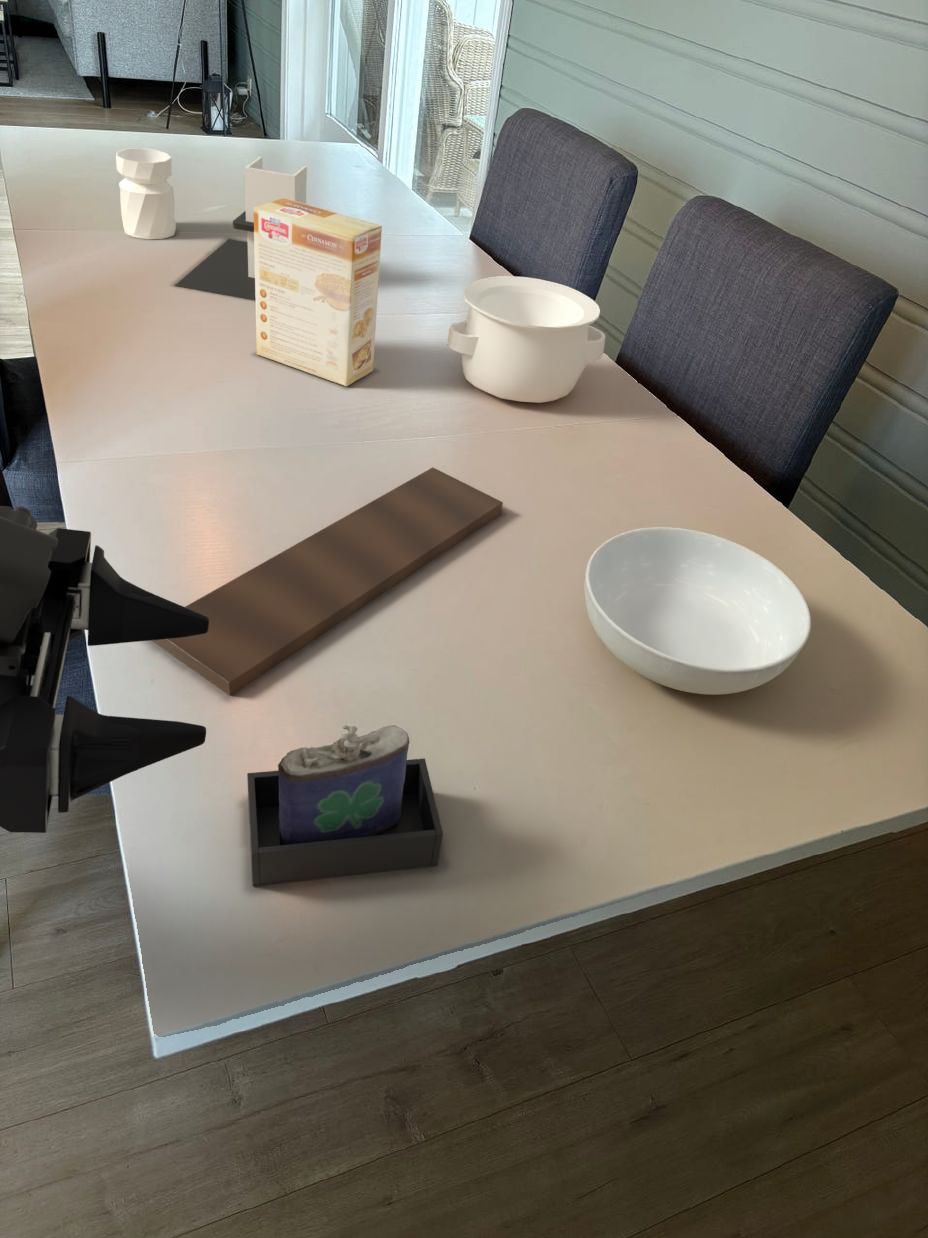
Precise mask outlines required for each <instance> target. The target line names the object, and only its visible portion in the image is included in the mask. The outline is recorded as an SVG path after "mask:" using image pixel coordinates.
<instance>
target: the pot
mask: <svg viewBox="0 0 928 1238" xmlns="http://www.w3.org/2000/svg"><path fill="white" fill-rule="evenodd" d="M463 298H464V300H465V302H466V303H467V304H468V305H469V309H468V312H467V316H466V320H462V321H460V322H454V323H451V324H450V326H449V329H448V335H447V341H446V346H447V347H449V349H450V350H452V351H454V352H457V353H459V354H461V365H462V372H463V375H464V377H465V379H466V381H467V382H469V384H471V385H472V386H474V387H475V388H476V389H479V390H481V391H482V392H485V393H486V394H489V395H492V396H495V397H497V398H499V399H502V400H508V401H509V400H510V401H515V402H520V403H522V402H523V403H535V404H536V403H537V404H541V403H548V402H553V401H556V400H559V399H561V398H564V397H567V396H568V395H569V393H571V391H572V390H573V389H574V388H575V386H576V384H577V383H578V380H579V378H580V377H581V375H582V373H583V371H584V370H585V369H586V366H587V364H591V363H592V364H593V363H597V362H598V361H600V360H601V359H602V357H603V355H604V351H605V345H606V337H607V336H606V334H605V333H604V332H603V331H602V330H600V329H598V328H596V327H594V326H591V324H594V323H595V322H596V321H597V320H598V319H599V317H600V313H601V309H600V306H599V304H598V303H596V301H595V300H594V299H592V298H591V297H589V296H588V295H586V294H585V293H583V292H581V291H579V290H577V289H574V288H572V287H570V286H567V285H565V284H560V283H557V282H553V281H549V280H546V279H545V280H544V279H542V278H541V279H540V278H535V277H527V276H515V275H512V276H511V275H500V276H499V275H498V276H497V275H496V276H489V277H484V278H480V279H477V280H474V281H473V282H471V283H469V284H467V285H466V286H465V288H464V291H463Z"/></svg>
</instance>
